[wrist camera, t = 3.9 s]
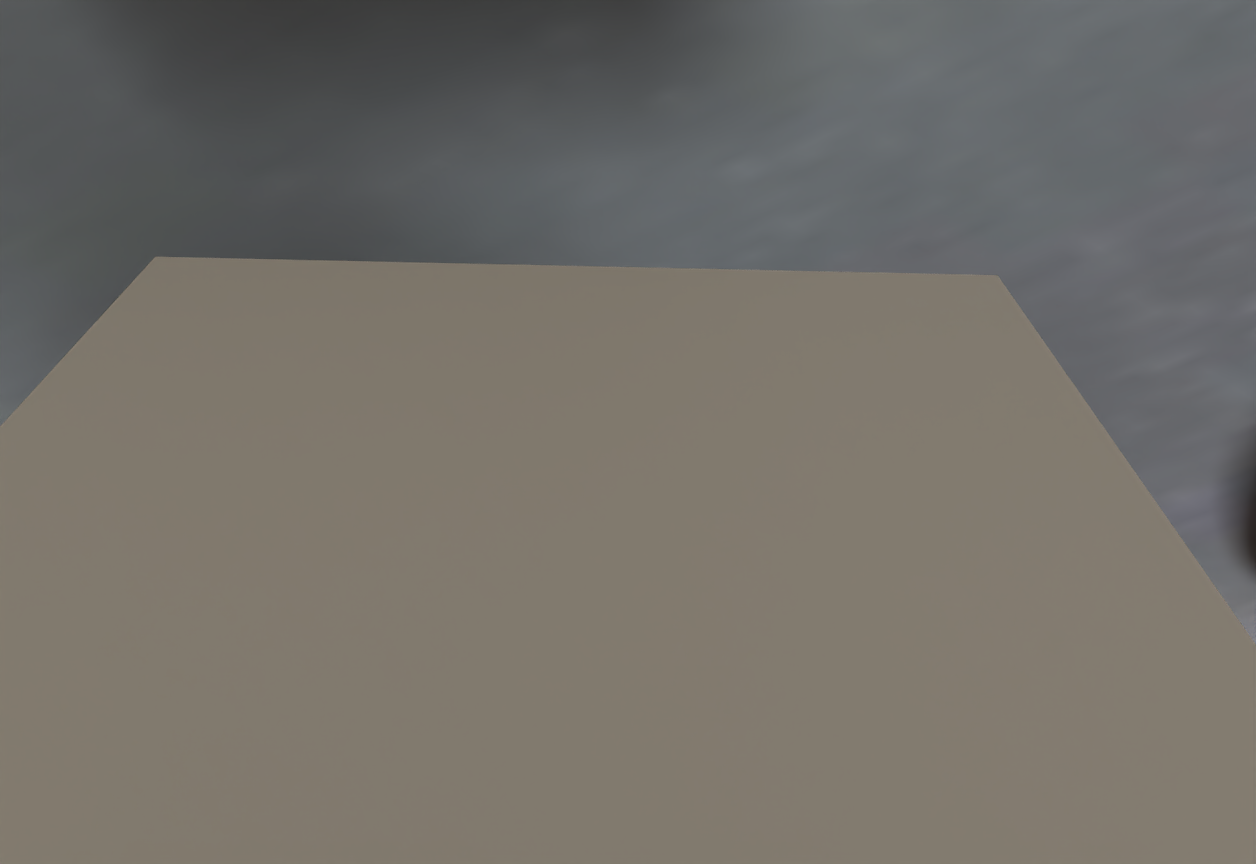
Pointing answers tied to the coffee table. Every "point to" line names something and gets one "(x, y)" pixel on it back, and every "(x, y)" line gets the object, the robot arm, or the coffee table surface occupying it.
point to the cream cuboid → (596, 581)
